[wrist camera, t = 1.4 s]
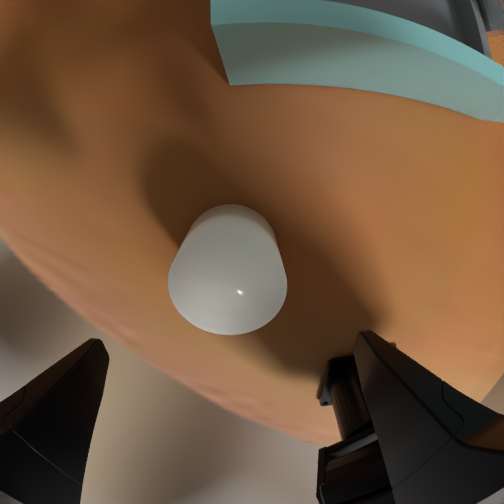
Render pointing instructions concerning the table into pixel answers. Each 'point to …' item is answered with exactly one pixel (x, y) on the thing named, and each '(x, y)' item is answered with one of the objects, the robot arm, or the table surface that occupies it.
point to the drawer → (365, 48)
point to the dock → (492, 16)
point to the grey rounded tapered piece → (228, 272)
